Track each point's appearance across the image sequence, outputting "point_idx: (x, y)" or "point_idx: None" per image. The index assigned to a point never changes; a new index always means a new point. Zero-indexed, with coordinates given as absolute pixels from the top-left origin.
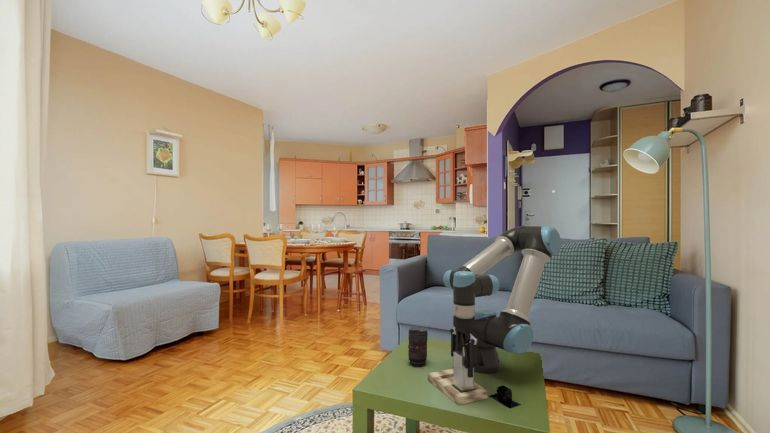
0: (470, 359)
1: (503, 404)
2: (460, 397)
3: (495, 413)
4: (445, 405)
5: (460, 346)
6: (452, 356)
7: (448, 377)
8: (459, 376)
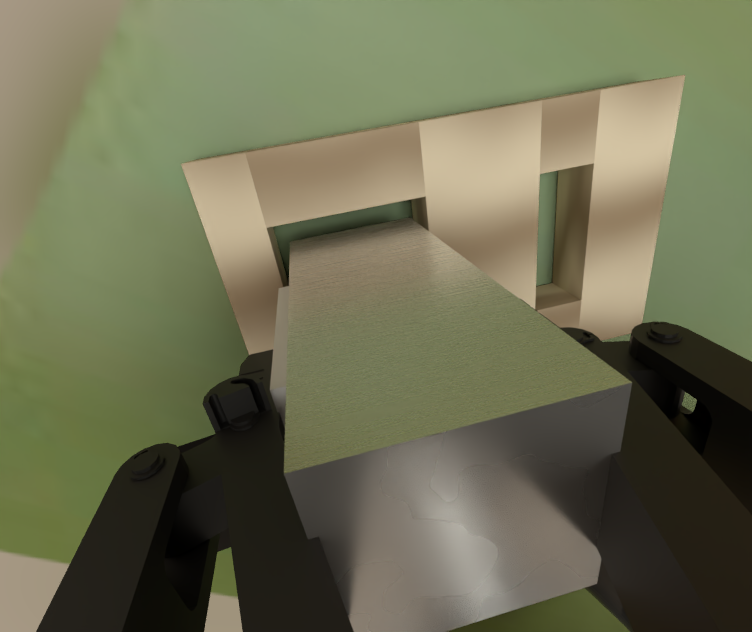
0: (115, 581)
1: (190, 445)
2: (190, 186)
3: (75, 367)
4: (203, 36)
5: (659, 614)
6: (633, 332)
7: (569, 249)
8: (336, 271)
